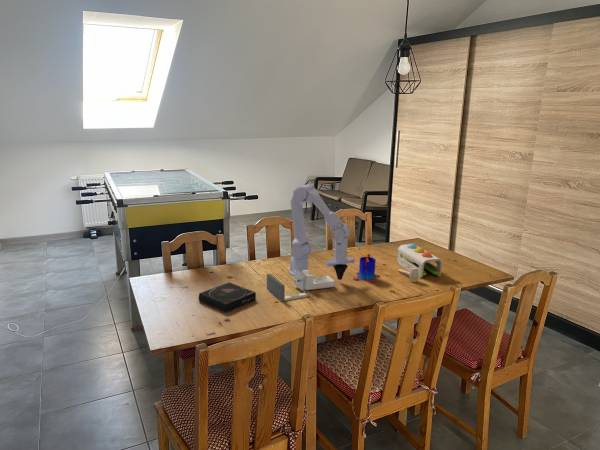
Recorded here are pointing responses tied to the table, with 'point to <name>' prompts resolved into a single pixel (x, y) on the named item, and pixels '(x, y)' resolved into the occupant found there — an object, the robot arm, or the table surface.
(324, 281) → the bracket
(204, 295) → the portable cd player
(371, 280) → the fantasy tower
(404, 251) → the pound a ball toy
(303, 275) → the gauge plate
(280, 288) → the grey plate with rod
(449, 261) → the table surface
